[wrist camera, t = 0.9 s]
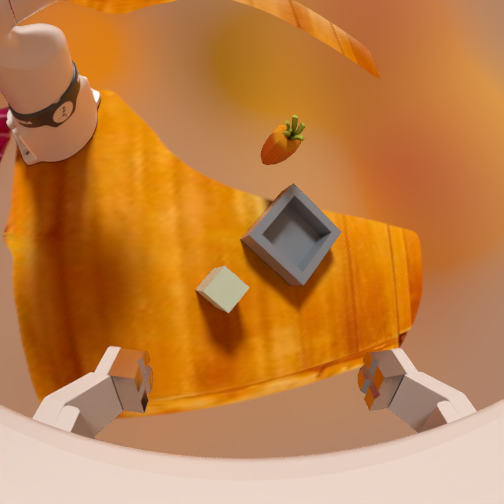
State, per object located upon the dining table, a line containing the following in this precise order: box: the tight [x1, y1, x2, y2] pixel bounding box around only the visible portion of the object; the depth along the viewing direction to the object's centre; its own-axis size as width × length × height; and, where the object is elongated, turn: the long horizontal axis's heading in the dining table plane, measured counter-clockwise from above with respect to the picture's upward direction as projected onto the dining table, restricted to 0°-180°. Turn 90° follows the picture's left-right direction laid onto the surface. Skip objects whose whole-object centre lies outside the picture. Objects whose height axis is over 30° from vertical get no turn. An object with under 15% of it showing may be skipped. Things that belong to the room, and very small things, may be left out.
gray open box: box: [240, 184, 341, 286], centre depth 50 cm, size 12×12×5 cm
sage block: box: [196, 266, 250, 313], centre depth 43 cm, size 4×4×9 cm
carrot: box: [261, 115, 305, 165], centre depth 45 cm, size 5×5×15 cm
